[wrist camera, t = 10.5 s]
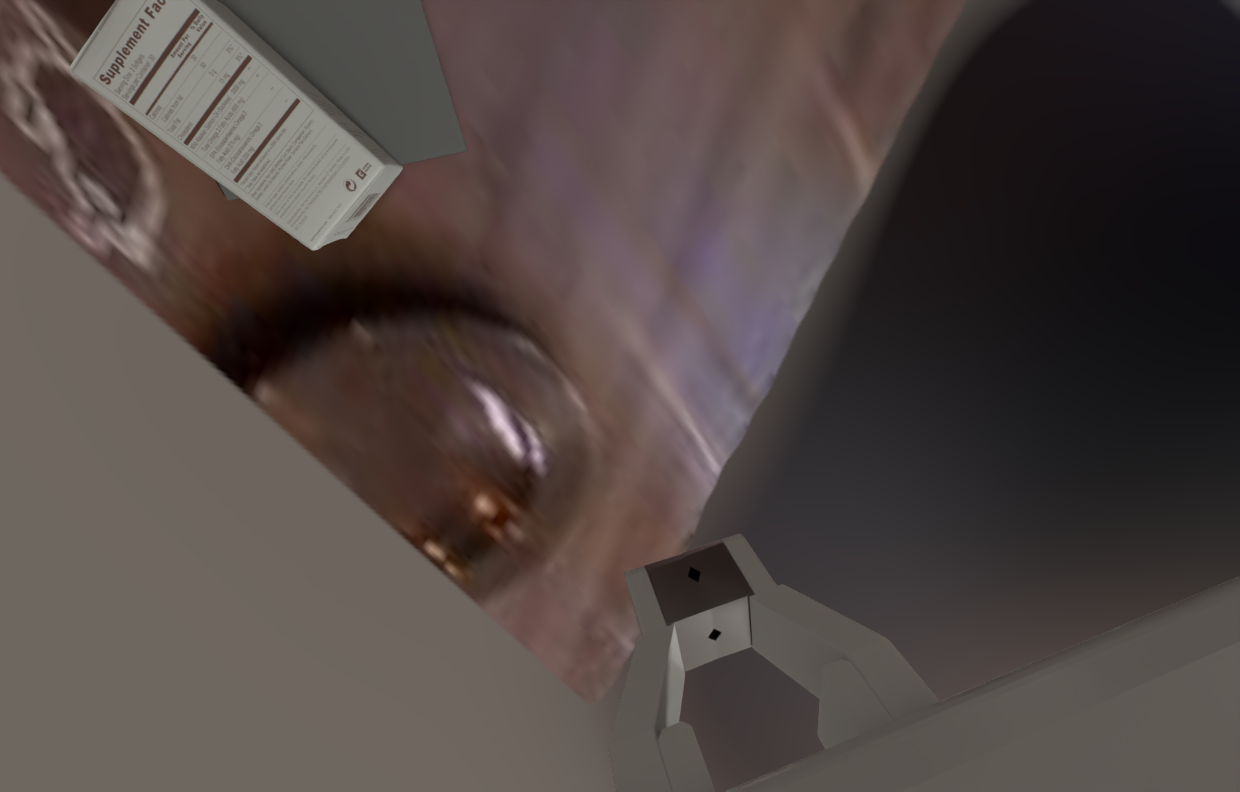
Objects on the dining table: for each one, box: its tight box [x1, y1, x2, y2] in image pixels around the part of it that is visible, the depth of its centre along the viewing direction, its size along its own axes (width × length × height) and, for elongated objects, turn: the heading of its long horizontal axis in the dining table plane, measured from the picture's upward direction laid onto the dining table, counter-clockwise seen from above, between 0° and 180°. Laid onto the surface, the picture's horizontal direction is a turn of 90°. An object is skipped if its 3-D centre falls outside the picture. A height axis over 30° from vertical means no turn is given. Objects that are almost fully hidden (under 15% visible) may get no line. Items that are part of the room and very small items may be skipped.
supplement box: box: [68, 0, 403, 250], centre depth 28 cm, size 7×7×13 cm
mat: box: [217, 0, 467, 200], centre depth 30 cm, size 17×12×1 cm
